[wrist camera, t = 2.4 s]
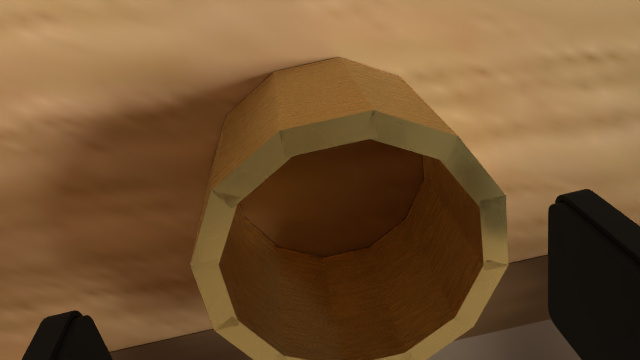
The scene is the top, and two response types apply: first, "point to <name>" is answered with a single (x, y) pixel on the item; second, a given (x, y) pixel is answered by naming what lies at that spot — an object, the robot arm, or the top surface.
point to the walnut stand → (458, 356)
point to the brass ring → (355, 266)
